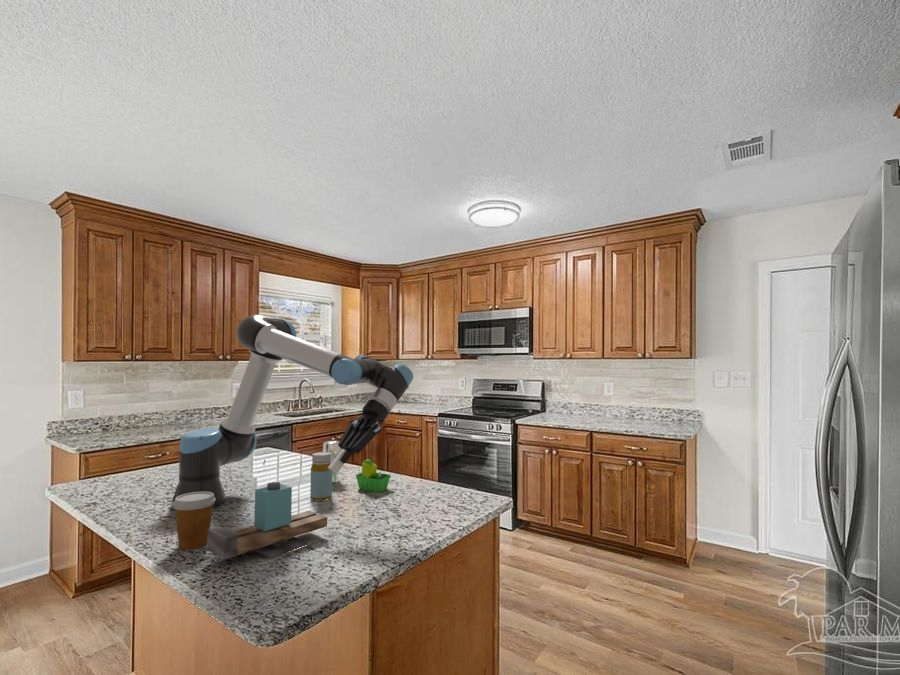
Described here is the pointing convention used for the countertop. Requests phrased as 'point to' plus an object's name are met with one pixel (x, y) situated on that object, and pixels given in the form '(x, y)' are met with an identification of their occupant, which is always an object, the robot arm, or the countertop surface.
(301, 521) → the balance beam
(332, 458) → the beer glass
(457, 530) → the countertop surface
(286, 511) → the block
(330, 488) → the bottle
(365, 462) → the fruit basket
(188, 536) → the disposable coffee cup
